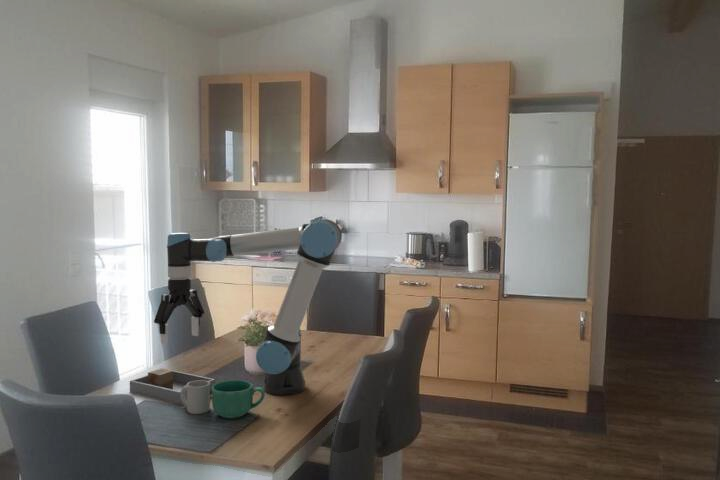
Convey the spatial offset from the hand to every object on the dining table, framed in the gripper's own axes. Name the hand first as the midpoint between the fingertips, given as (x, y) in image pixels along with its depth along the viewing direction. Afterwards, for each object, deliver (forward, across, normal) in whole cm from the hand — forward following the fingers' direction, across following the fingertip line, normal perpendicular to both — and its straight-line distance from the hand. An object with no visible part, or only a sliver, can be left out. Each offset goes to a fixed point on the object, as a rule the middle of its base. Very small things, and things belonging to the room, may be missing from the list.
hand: (180, 339), depth 213 cm
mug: (+21, +2, +28) cm, 35 cm away
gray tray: (+20, -2, -6) cm, 21 cm away
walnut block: (+20, -1, -12) cm, 23 cm away
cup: (+20, +7, +13) cm, 25 cm away
